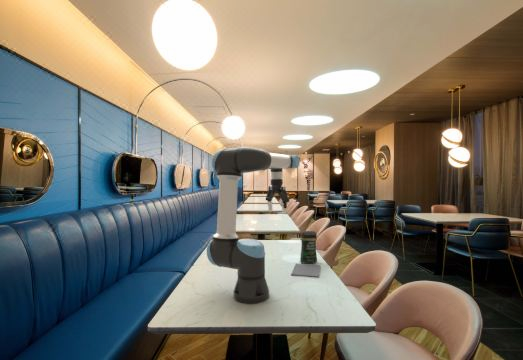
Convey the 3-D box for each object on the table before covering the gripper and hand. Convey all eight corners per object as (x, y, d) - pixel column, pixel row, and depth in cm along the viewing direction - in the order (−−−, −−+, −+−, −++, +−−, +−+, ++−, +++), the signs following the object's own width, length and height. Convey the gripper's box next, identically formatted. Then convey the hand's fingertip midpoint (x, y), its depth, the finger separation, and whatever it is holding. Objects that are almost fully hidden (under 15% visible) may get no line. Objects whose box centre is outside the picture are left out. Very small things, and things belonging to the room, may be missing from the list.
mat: (318, 277, 134) (318, 276, 134) (291, 275, 138) (291, 274, 138) (320, 266, 152) (320, 265, 152) (295, 264, 155) (295, 263, 155)
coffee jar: (302, 264, 155) (302, 232, 155) (299, 260, 163) (298, 230, 163) (318, 263, 156) (318, 232, 156) (314, 259, 164) (314, 229, 164)
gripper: (294, 178, 160) (295, 213, 160) (269, 178, 180) (269, 210, 180) (285, 178, 155) (285, 215, 156) (260, 178, 175) (260, 211, 176)
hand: (277, 212), depth 168 cm, fingers open, 13 cm apart
